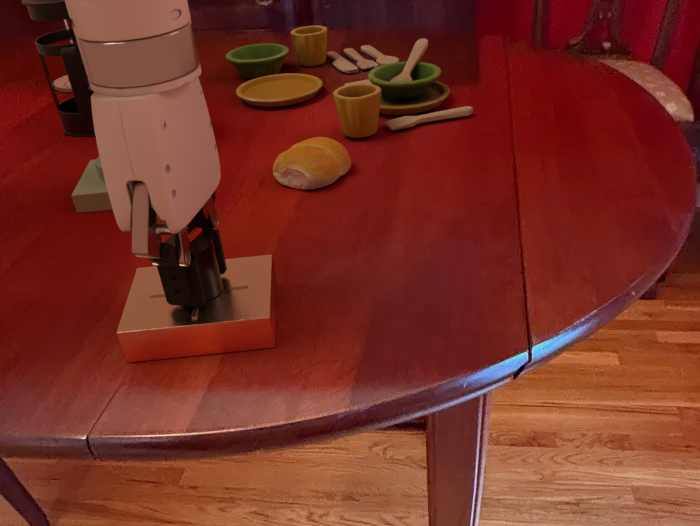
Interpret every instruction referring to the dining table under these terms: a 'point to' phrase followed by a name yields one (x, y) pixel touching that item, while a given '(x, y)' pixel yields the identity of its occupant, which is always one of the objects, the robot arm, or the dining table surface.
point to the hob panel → (201, 315)
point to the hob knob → (204, 260)
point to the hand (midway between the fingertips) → (198, 285)
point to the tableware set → (353, 98)
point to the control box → (91, 190)
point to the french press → (76, 111)
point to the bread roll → (312, 164)
